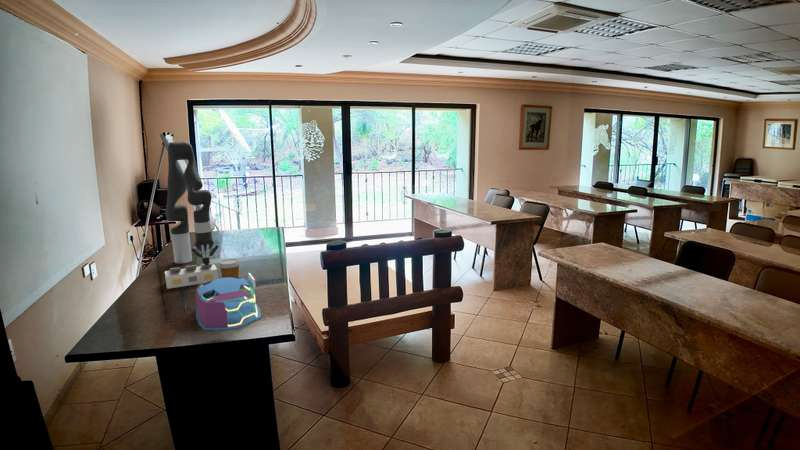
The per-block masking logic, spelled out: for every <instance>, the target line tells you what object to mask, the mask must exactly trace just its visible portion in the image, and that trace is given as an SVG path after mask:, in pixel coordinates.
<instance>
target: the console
mask: <svg viewBox="0 0 800 450" xmlns="http://www.w3.org/2000/svg"><path fill="white" fill-rule="evenodd" d="M218 273H219V272H218V268H217V266H216V264H212V267H205V268H202V267H201V266H196V268H194V269H187V270H186V269H185V268H181V271H174V272H170V270H165V271H164V276H165V284H166V285H165V286H166V290H169V289H175V288H181V287H187V286H194V285H200V284H203V283H206V282H209V281H212V280H215V279H219V274H218Z"/></svg>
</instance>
